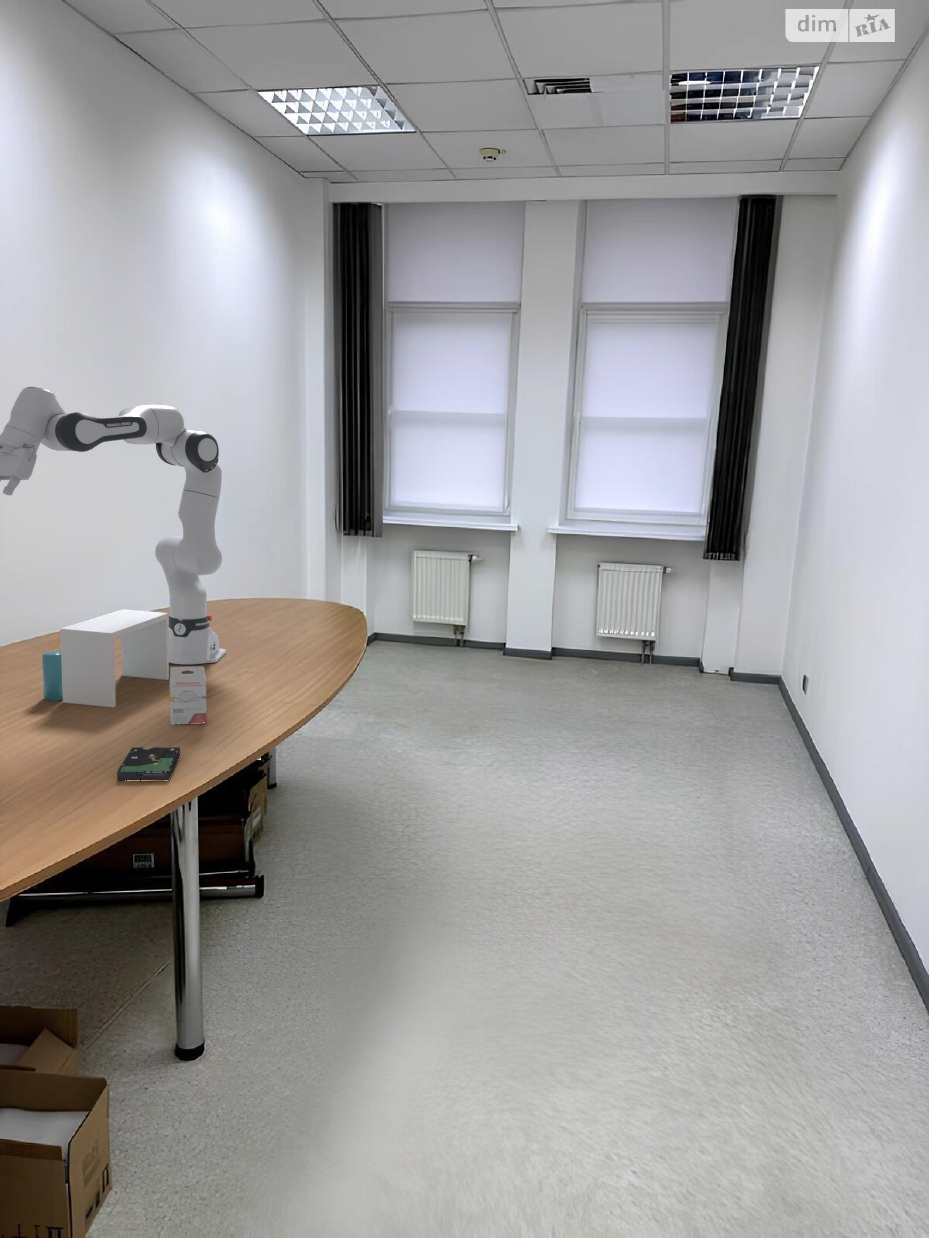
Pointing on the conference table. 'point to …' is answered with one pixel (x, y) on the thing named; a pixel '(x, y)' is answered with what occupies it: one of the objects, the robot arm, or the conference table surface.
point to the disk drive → (149, 764)
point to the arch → (112, 654)
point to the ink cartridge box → (187, 695)
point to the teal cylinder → (52, 676)
